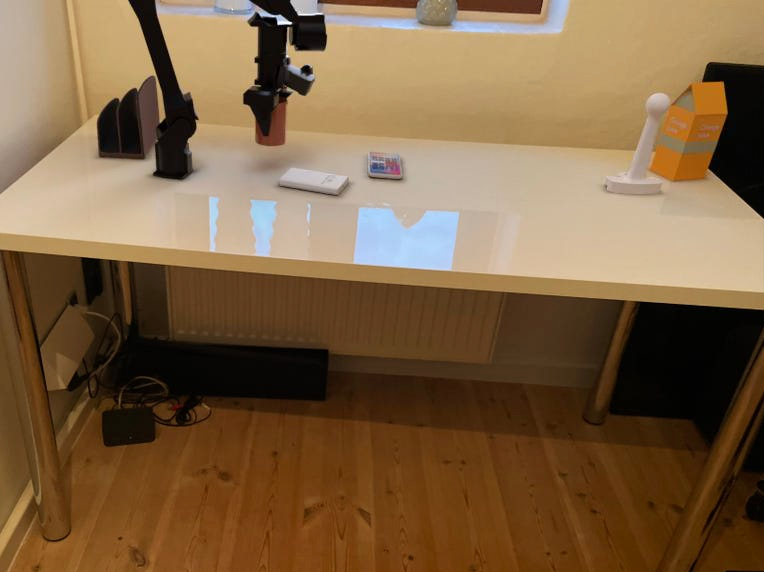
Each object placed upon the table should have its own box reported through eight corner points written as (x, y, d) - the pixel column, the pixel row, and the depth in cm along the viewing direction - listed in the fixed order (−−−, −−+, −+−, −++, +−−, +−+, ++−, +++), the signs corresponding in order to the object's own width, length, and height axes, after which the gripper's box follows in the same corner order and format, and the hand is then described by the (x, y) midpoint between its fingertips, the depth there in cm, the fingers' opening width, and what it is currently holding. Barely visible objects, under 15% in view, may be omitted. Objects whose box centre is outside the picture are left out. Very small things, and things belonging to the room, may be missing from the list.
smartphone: (400, 153, 167) (403, 176, 154) (399, 157, 167) (402, 180, 155) (367, 151, 167) (367, 173, 154) (367, 155, 167) (367, 177, 155)
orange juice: (649, 169, 169) (677, 78, 158) (680, 167, 171) (710, 77, 160) (673, 181, 162) (704, 87, 151) (705, 178, 165) (738, 86, 154)
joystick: (610, 193, 154) (639, 95, 143) (597, 181, 160) (623, 85, 149) (661, 194, 155) (693, 97, 144) (646, 182, 161) (675, 87, 150)
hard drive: (292, 174, 155) (348, 183, 152) (278, 186, 148) (337, 196, 145) (292, 166, 154) (349, 175, 151) (278, 178, 148) (337, 188, 144)
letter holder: (161, 133, 175) (157, 70, 167) (144, 160, 158) (139, 92, 150) (119, 130, 175) (113, 68, 167) (98, 157, 158) (91, 89, 150)
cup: (250, 144, 151) (251, 101, 146) (260, 135, 156) (260, 94, 151) (281, 147, 150) (282, 105, 145) (289, 139, 155) (291, 97, 150)
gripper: (300, 64, 134) (296, 149, 143) (323, 46, 149) (318, 124, 158) (242, 58, 136) (242, 142, 145) (270, 41, 151) (269, 118, 160)
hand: (270, 131), depth 152 cm, fingers closed on cup, 6 cm apart
